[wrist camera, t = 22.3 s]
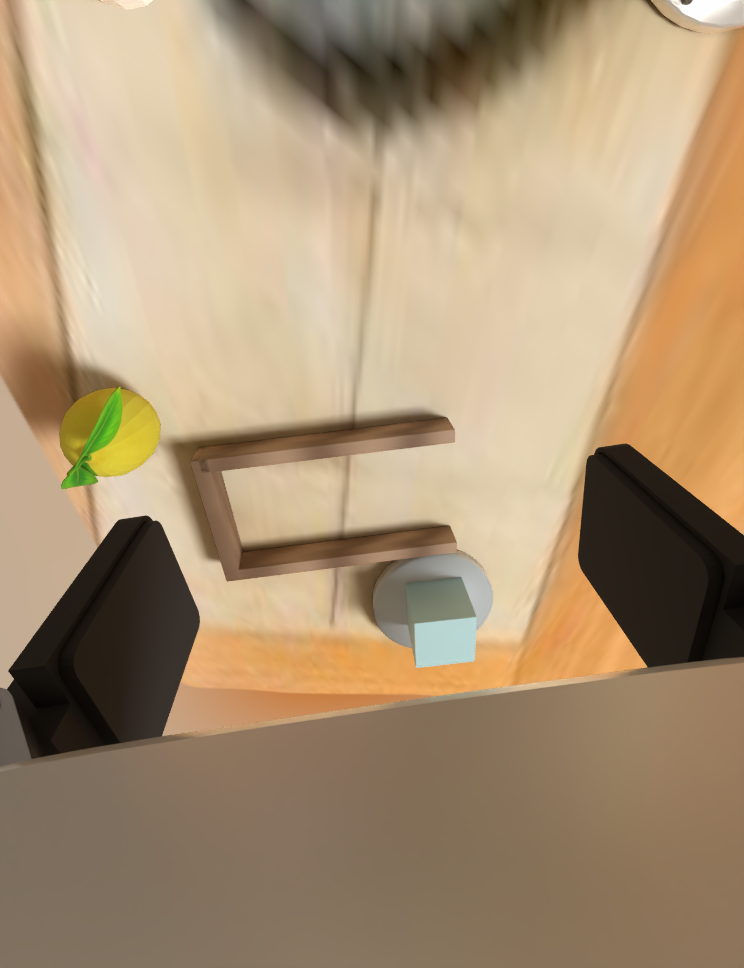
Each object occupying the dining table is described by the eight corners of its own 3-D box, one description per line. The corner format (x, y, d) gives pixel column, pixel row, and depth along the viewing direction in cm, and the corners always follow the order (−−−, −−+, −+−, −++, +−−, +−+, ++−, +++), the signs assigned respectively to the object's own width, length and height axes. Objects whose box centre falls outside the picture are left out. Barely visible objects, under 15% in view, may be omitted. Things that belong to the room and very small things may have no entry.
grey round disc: (489, 539, 43) (494, 549, 42) (487, 630, 48) (491, 641, 47) (366, 555, 43) (367, 565, 41) (378, 644, 48) (379, 656, 47)
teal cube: (461, 576, 43) (476, 616, 38) (460, 619, 45) (474, 661, 41) (405, 582, 43) (414, 623, 38) (407, 624, 45) (416, 667, 41)
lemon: (157, 358, 33) (95, 404, 25) (194, 433, 36) (150, 499, 27) (68, 385, 34) (-25, 440, 25) (111, 457, 37) (42, 530, 28)
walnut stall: (447, 417, 37) (454, 429, 35) (450, 535, 42) (456, 552, 40) (198, 447, 37) (189, 461, 35) (232, 562, 42) (226, 581, 40)
